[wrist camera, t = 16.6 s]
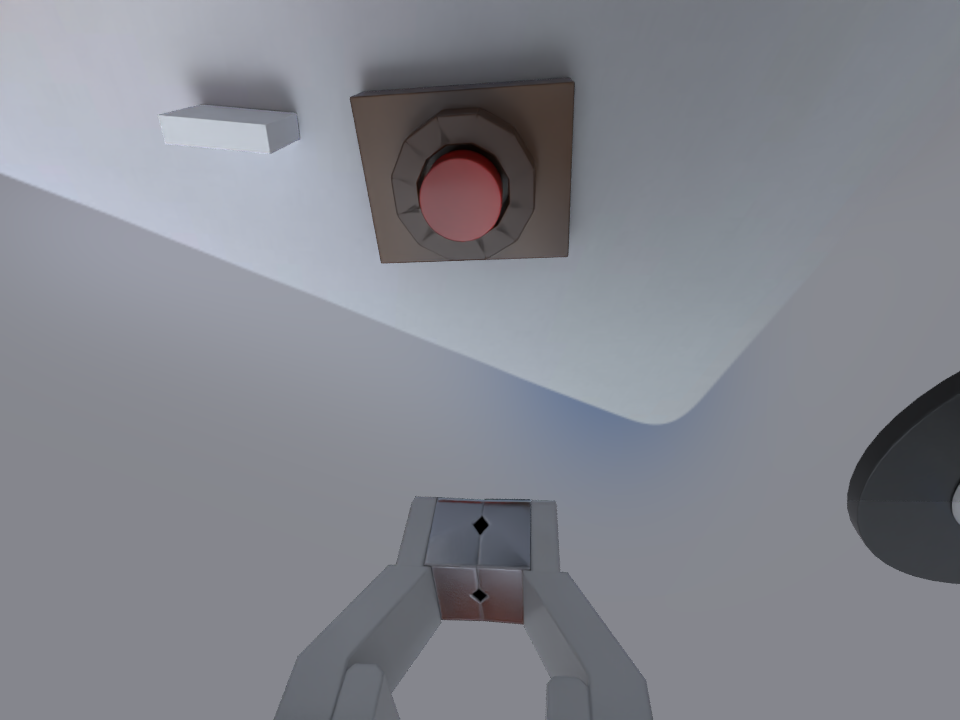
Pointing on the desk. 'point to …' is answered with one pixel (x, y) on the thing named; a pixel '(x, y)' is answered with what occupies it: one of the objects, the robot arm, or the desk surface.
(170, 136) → the eraser
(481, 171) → the button
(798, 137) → the desk surface
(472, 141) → the button box
